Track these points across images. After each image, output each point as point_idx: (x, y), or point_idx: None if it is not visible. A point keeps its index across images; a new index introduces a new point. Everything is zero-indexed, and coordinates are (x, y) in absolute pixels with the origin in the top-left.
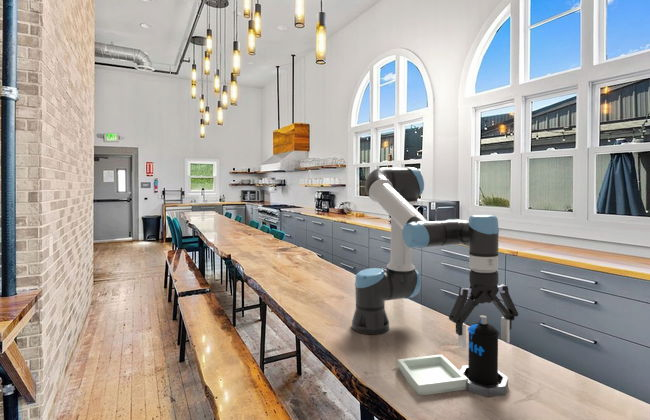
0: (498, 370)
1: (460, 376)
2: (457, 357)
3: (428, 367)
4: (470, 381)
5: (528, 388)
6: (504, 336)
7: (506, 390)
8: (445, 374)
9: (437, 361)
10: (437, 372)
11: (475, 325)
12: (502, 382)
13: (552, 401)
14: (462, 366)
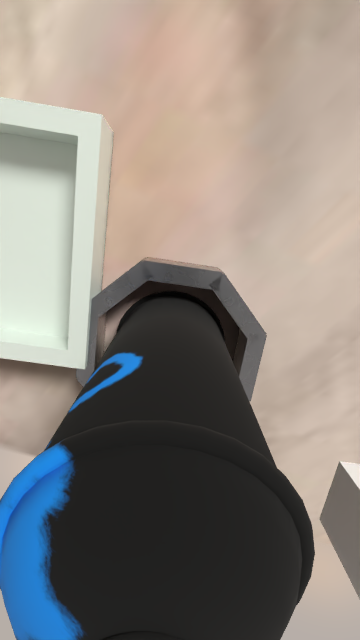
0: (261, 349)
1: (70, 336)
2: (229, 106)
3: (8, 164)
4: (91, 373)
5: (294, 416)
6: (347, 527)
7: None
8: (55, 252)
9: (69, 141)
10: (29, 222)
11: (36, 629)
12: None
13: (293, 482)
14: (137, 264)
